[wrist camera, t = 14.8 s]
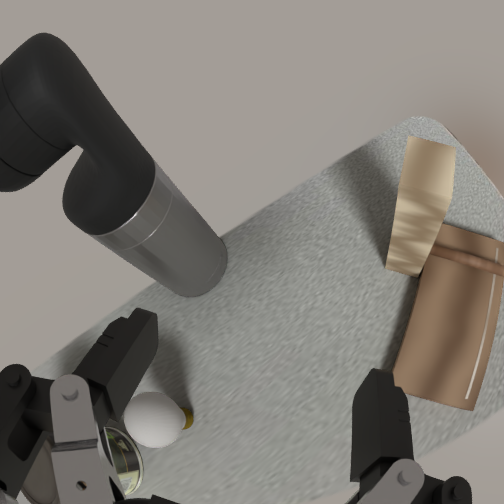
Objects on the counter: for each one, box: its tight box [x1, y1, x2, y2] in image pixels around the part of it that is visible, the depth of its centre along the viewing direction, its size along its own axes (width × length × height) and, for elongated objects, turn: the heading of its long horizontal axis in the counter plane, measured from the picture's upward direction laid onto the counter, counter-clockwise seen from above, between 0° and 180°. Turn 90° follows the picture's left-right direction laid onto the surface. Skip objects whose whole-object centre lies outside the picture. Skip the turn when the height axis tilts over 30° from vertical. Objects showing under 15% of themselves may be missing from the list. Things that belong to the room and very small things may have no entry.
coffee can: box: [21, 427, 143, 504], centre depth 27 cm, size 10×10×14 cm
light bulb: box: [124, 392, 193, 448], centre depth 29 cm, size 6×6×10 cm
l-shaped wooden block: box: [385, 136, 504, 278], centre depth 25 cm, size 14×5×16 cm, turn 66°
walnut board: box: [392, 223, 504, 411], centre depth 29 cm, size 10×19×2 cm, turn 156°
